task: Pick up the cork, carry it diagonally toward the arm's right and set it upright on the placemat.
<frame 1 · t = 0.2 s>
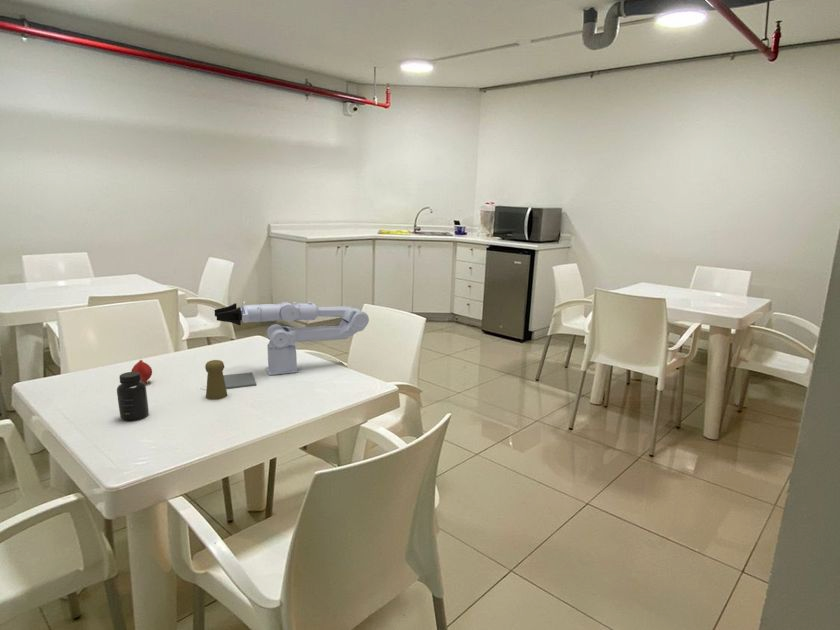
hand: (215, 315, 163), 21 cm above the table, tool horizontal, fingers open, 7 cm apart
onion: (142, 384, 161), on the table
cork: (216, 396, 152), on the table
supplement bottle: (134, 417, 137), on the table
placemat: (234, 381, 165), on the table
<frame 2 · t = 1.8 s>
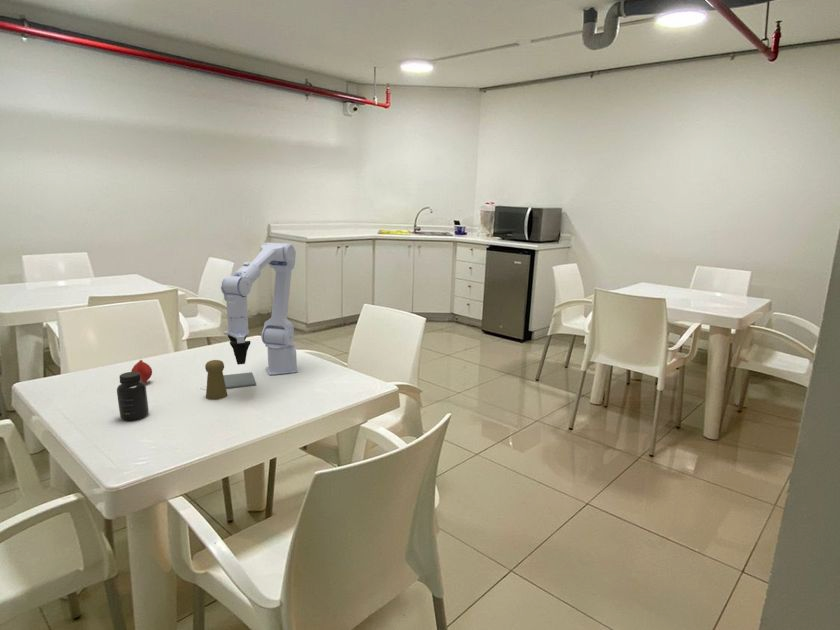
hand: (239, 360, 153), 10 cm above the table, tool pointing down, fingers open, 7 cm apart
nothing on the table moved.
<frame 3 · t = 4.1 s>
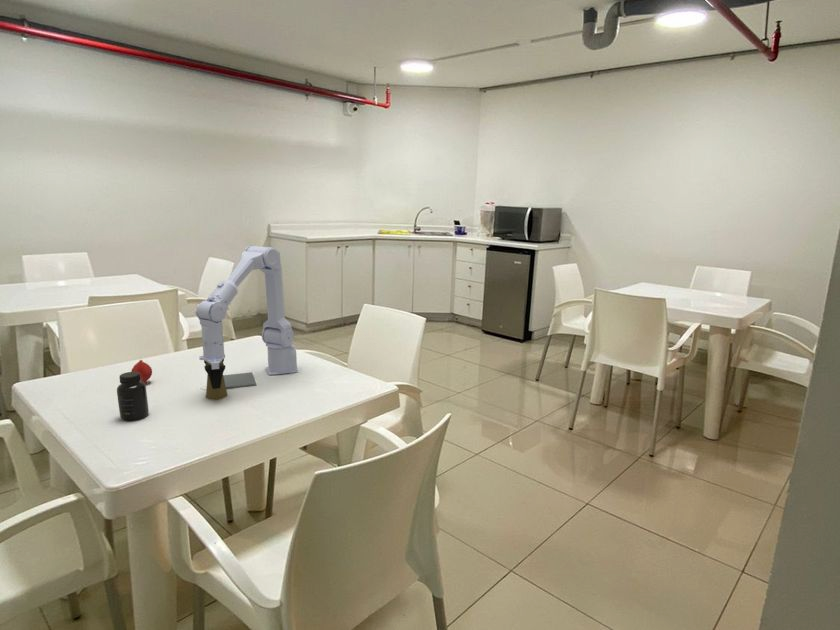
hand: (215, 385, 152), 3 cm above the table, tool pointing down, fingers closed on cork, 5 cm apart
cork: (216, 396, 152), on the table, touching gripper
everything else where it was.
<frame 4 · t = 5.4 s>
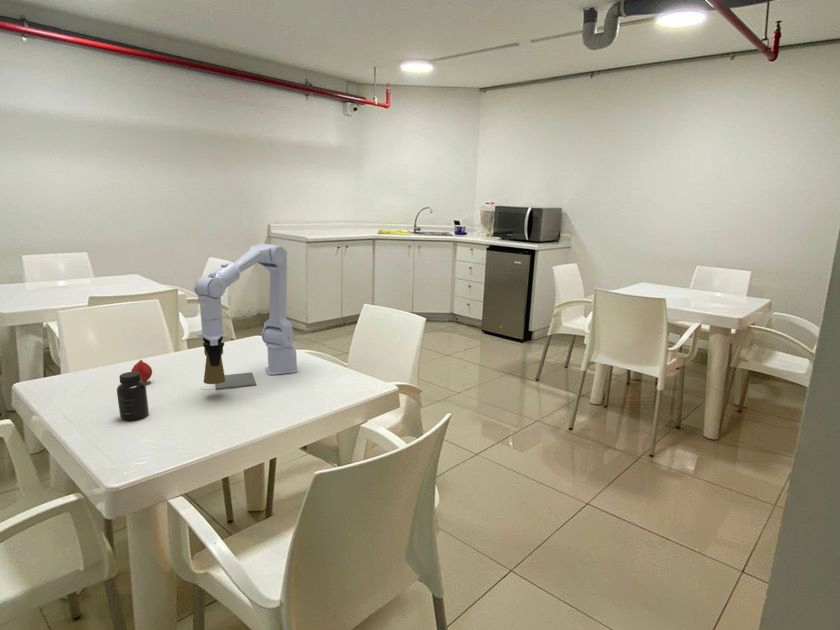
hand: (214, 362, 150), 10 cm above the table, tool pointing down, fingers closed on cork, 5 cm apart
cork: (214, 381, 151), point 5 cm above the table, touching gripper
everything else where it was.
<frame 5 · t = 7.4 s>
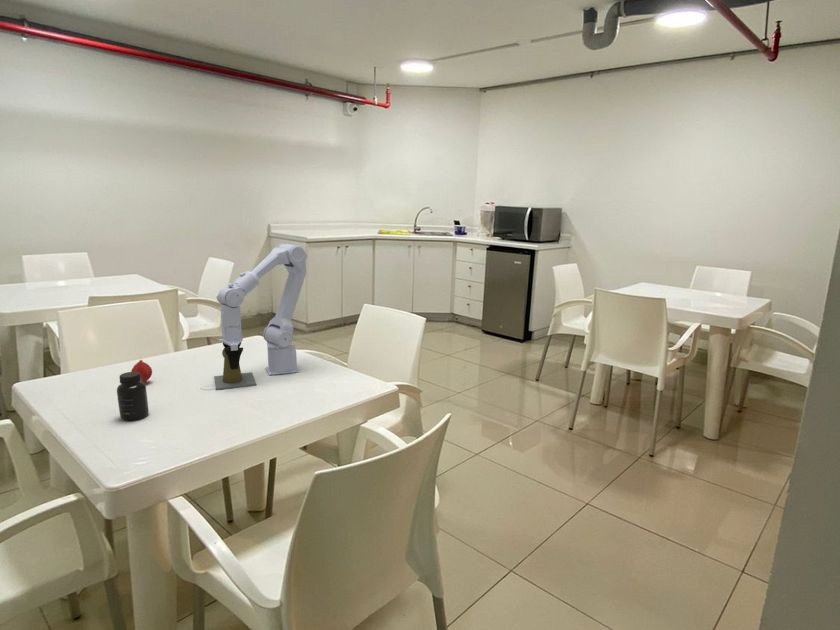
hand: (233, 366, 163), 5 cm above the table, tool pointing down, fingers closed on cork, 5 cm apart
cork: (232, 380, 164), resting on placemat, touching gripper
everything else where it was.
when the fingers open (5 cm above the table, at t = 7.9 s): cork stays where it is, resting on placemat.
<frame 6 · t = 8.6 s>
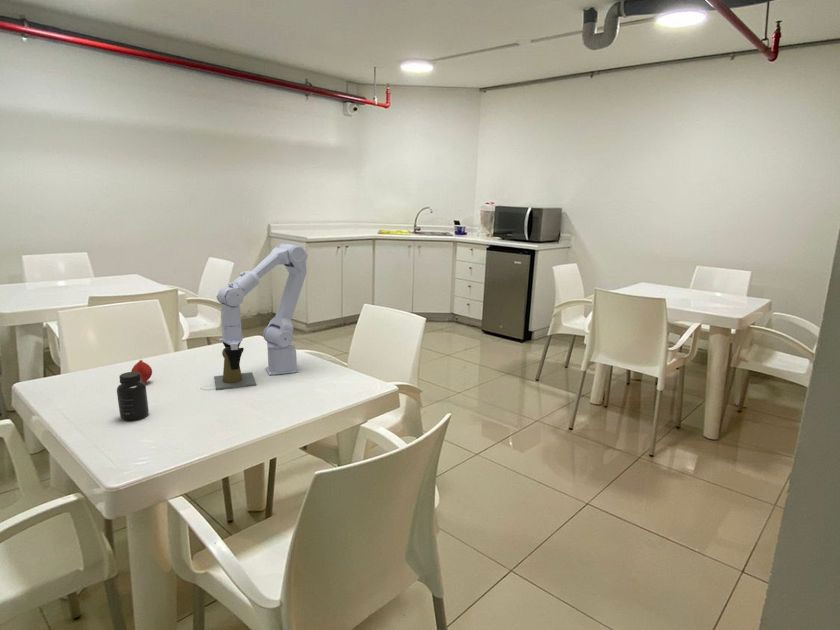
hand: (234, 365, 163), 5 cm above the table, tool pointing down, fingers open, 7 cm apart
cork: (232, 380, 164), resting on placemat
everything else where it was.
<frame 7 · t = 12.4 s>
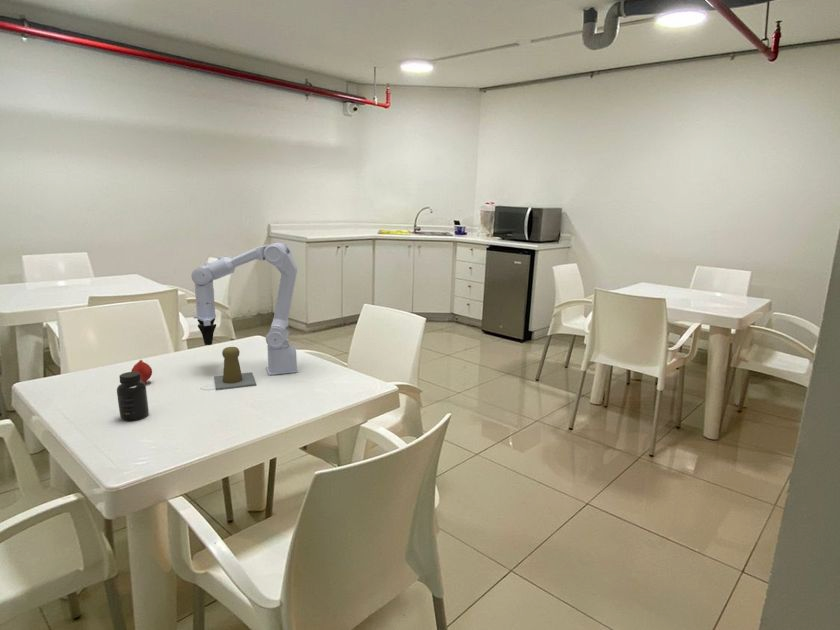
hand: (208, 341, 172), 10 cm above the table, tool pointing down, fingers open, 7 cm apart
nothing on the table moved.
at the end: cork inside the target area on the placemat (0.7 cm from its centre), point 0.4 cm above the placemat's base; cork tilted 0°; the gripper is holding nothing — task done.
